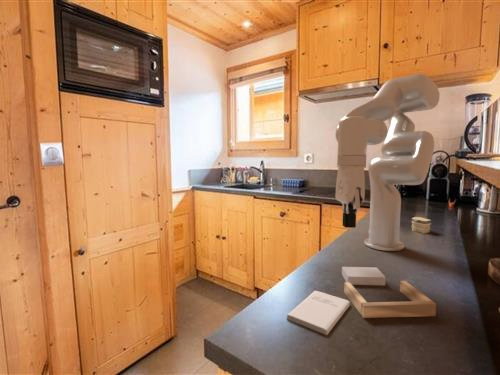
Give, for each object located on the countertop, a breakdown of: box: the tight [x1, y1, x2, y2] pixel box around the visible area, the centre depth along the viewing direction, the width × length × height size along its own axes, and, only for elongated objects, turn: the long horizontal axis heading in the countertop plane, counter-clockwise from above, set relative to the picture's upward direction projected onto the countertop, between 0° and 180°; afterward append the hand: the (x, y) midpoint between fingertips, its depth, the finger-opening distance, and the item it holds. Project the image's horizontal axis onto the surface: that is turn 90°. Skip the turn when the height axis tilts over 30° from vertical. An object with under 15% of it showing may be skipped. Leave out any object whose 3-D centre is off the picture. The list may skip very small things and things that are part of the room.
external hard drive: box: [286, 290, 351, 336], centre depth 56 cm, size 2×8×12 cm
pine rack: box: [343, 280, 437, 319], centre depth 58 cm, size 10×14×2 cm
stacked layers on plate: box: [410, 216, 432, 234], centre depth 114 cm, size 10×9×6 cm
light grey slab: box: [341, 266, 386, 286], centre depth 70 cm, size 6×9×2 cm, turn 85°
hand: (348, 226), depth 77 cm, fingers closed
